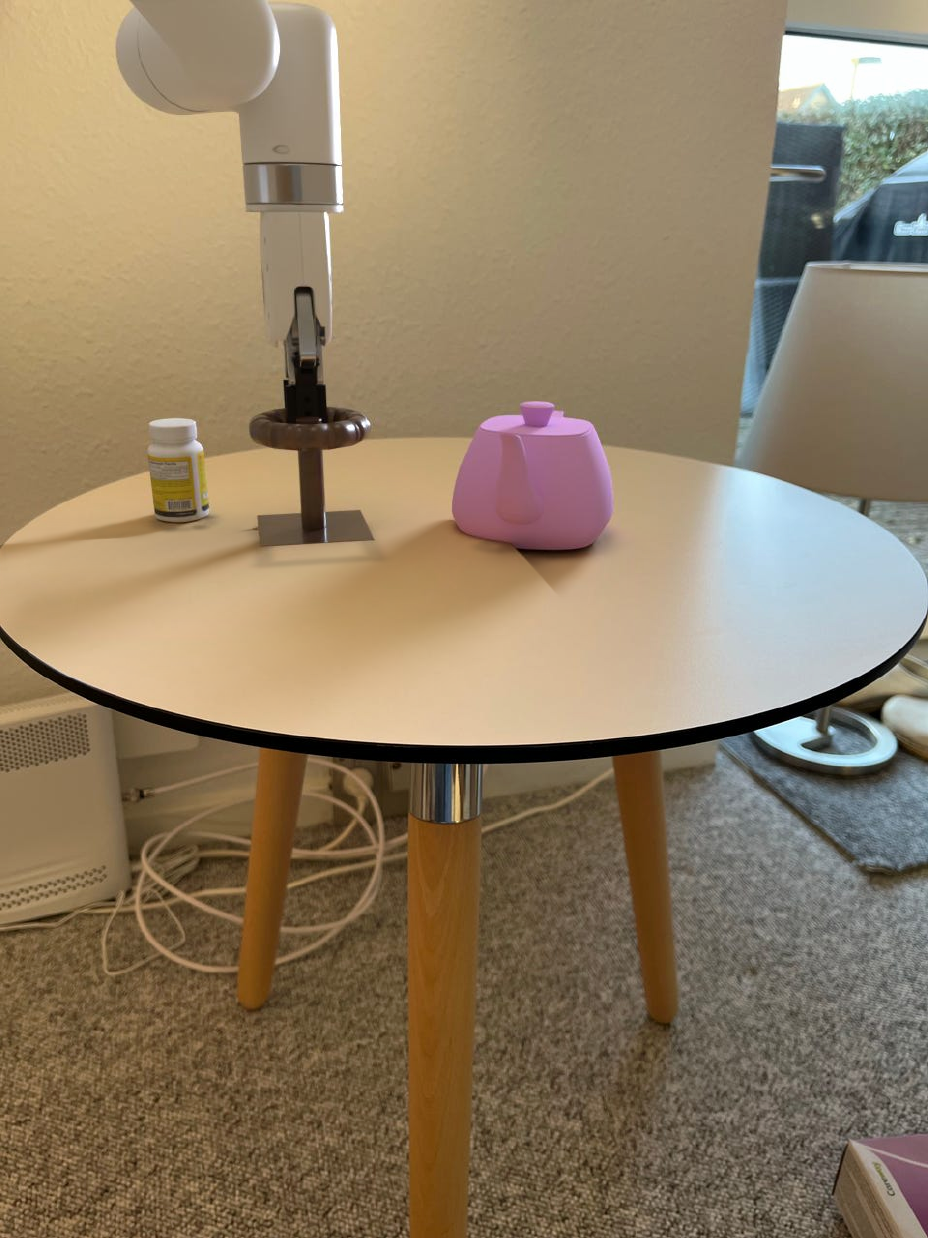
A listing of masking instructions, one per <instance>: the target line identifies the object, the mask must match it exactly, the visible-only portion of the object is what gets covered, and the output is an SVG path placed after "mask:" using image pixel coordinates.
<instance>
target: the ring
mask: <svg viewBox="0 0 928 1238" xmlns="http://www.w3.org/2000/svg"><path fill="white" fill-rule="evenodd" d="M248 431H249V436H250V438H251V440H252V441H253V442H254V443H256V444H258V445H260V446H264V447H266V448H271V449H274V450H283V451H284V450H285V451H296V452H298V451H312V450H323V451H330V450H336V449H342V448H347V447H348V448H349V447H352V446H355V445H357V444H359V443H361V442H362V441H365V440H366V439H367V438H368V437H370V434H371V432H372V425H371V423H370V420H368V417H366V415H365V414H364V413H363V412H361V411H358V410H354V409H351V408H345V407H338V406H327V423H326V424H288V419H287V408H285V407H283V408H275V409H270V410H266V411H264V412H261V413H258V414H256V415H254V416H253V417H251V419H250V421H249V422H248Z"/></svg>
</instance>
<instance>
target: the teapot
mask: <svg viewBox="0 0 928 1238" xmlns="http://www.w3.org/2000/svg"><path fill="white" fill-rule="evenodd" d="M519 407H520V408H519V410H520V412H521V414H505V415H496V416H492V417H489V418H488V419H486V420H485V421H483V422H481V424H479V426H478V428H477V429H476V431H475V433H474V435H473V437H472V439H471V442H470V443H469V444H468V445H469V446H468V447H467V449H466V452H465V454H464V456H463V459H462V461H461V464H460V466H459V469H458V472H457V476H456V479H455V484H454V487H453V488H454V489H453V494H452V501H451V514H452V517H453V519H454V522H455V523H456V525H457V527H458V528H459V530H460V531H461V532H463V533H465V534H466V535H468V536H472V537H476V538H481V539H486V540H492V541H496V542H504V543H510V544H511V545H512V546H513V547H514V548H515V549H519V550H521V549H522V550H539V551H540V550H541V551H542V550H543V551H544V550H546V551H565V550H566V551H567V550H575V549H582V548H585V547H588V546H591V545H592V544H593V543H595V541H596V540H597V539H598V537H599V536H600V535H601V534H602V533H603V531H604V530H605V528H606V527H607V526H608V524H609V523H610V521H611V519H612V516H613V513H614V489H613V481H612V480H613V479H612V475H611V469H610V466H609V462H608V459H607V457H606V453H605V451H604V447H603V445H602V443H601V440H600V437H599V435H598V433H597V430H596V429H595V426H594V424H593V423H592V422H590V421H588V420H586V419H580V418H573V417H565V416H564V411H563V410H554V409H555V404H553V403H551V402H548V401H538V400H537V401H536V400H535V401H525V402H522V403H520V404H519Z"/></svg>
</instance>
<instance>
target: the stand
mask: <svg viewBox="0 0 928 1238" xmlns="http://www.w3.org/2000/svg"><path fill="white" fill-rule="evenodd" d="M296 424H321V418H319V417H313V416H307V417H299V418H296ZM297 463H298V482H299V500H300V501H299V502H300V512H294V513H275V514H259V515H256V518H257V530H258V532H259V541H260V546H261V548H264V547H265V548H266V547H279V546H282V547H283V546H293V545H294V546H295V545H297V546H299V545H315V544H332V543H349V542H350V543H351V542H365V541H367V542H368V541H375V540H376V538H375V537H374V534H373V532H372V530H371V528H370V527H369V525H368V523H367V520H366V519H365V516H364V514H363V513H362V511H361V509H353V510H351V509H349V510H334V511H326V495H325V474H324V473H325V472H324V471H325V470H324V450H312V451H297Z"/></svg>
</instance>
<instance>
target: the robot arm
mask: <svg viewBox="0 0 928 1238" xmlns="http://www.w3.org/2000/svg"><path fill="white" fill-rule="evenodd" d="M129 2H130V3H131V4H132V5H133V7H132V8H131V9H130V10H129V11H128V12H127V13H126V15H125V16H124V18H123V19H122V21H121V23H120V24H119V27H118V30H117V34H116V39H115V46H114V47H115V59H116V63H117V67H118V70H119V73H120V74H121V77H122V79H123V80H124V82H125V83H126V86H127V87H128V88H129V89H130V91H131V92H132V93H133V94H134V95H135V97H137V98H138V99H139V100H141V101H142V102H143V103H144V104H146V105H147V106H149V107H151V108H152V109H154V110H157V111H159V112H162V113H165V114H168V115H169V114H170V115H175V116H192V115H193V116H194V115H203V114H211V113H212V114H213V113H228V112H230V113H232V112H234V113H236V114H238V122H239V135H240V136H239V138H240V151H241V152H240V153H241V164H242V175H243V176H242V177H243V179H242V181H243V192H244V204H245V205H244V206H245V212H246V213H259V255H260V271H261V286H262V287H261V288H262V300H263V301H262V302H263V318H264V334H265V339H266V340H267V343H268V344H269V345H270V346H271V347H273V348H279V342H282V345H283V359H284V373H285V374H284V375H285V379H282V383H283V398H284V408H287V419H288V424H296V418H299V417H307V416H313V417H319V418H321V424H326V423H327V407H328V406H327V388H326V387H327V385H326V383H325V384H324V364H323V363H324V362H323V347H326V346H327V345H329V344H330V343H331V342H332V336H333V334H332V333H333V287H332V285H333V284H332V254H331V252H332V251H331V236H330V235H331V234H330V233H331V232H330V214H335V213H336V214H343V213H344V189H343V188H344V187H343V186H344V185H343V168H342V166H343V162H342V161H343V159H342V133H341V106H340V105H341V104H340V77H339V51H338V50H339V49H338V36H337V35H338V33H337V29H336V25H335V22H334V20H333V18H332V16H331V15H330V14H329V13H327V12H326V11H325V10H324V9H321V8H319V7H317V6H315V5H311V4H306V3H300V2H289V1H268V0H129Z"/></svg>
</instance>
